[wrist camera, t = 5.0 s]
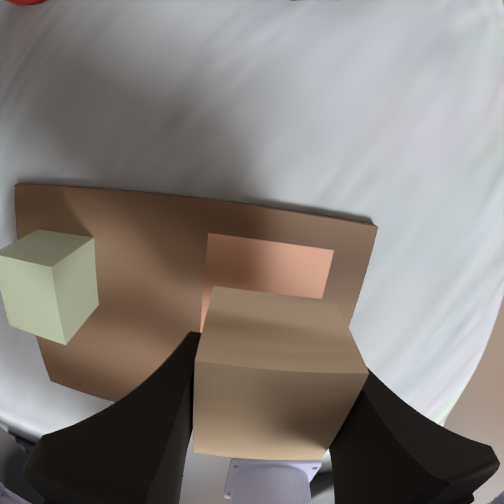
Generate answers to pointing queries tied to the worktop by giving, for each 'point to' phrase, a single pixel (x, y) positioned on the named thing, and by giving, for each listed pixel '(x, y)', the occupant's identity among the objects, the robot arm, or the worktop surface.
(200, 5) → the worktop surface
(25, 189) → the brown flat board
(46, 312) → the sage cube
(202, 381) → the maple brick
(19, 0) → the canned food
